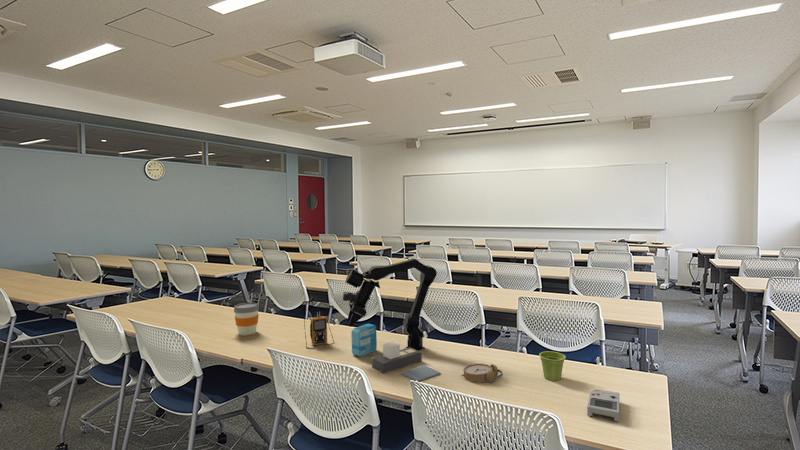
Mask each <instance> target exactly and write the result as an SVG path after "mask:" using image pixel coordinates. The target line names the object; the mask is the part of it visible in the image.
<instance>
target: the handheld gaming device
mask: <svg viewBox="0 0 800 450" xmlns="http://www.w3.org/2000/svg"><path fill="white" fill-rule="evenodd" d="M587 400H588V401H587V406H586V408H587V409H586V412H587V413H586V415H587V416H588V417H593V414H594V415H599V416H604V417H610V418H613V421H614V422H616V423H617V422H620V393H619V392H617V391H609V390H604V389H593V390H590V391H589V394H588V399H587Z"/></svg>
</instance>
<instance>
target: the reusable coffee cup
mask: <svg viewBox="0 0 800 450" xmlns="http://www.w3.org/2000/svg"><path fill="white" fill-rule="evenodd" d="M259 307H260V306H259V303H258V302H257V303H256V302H244V303H238V304H236V305H234V308H233V312H234V320H235V325H236V328H237V331H238V332H237V333H238V335H239V336H250V335H251V336H252V335H254V334H256V333H257V328H258V327H257V326H258V323H259V310H260V308H259Z"/></svg>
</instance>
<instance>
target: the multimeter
mask: <svg viewBox="0 0 800 450" xmlns="http://www.w3.org/2000/svg"><path fill="white" fill-rule="evenodd" d="M321 304H324V306H325V307H326V308H327V311H329V307H328V306H327V304H326V303H324V302H320V303H319V305H318V306H317V305H316V304H314V306H315V308H316V316H315V317H311V318H310V325H309V326H310V327H309V329H310V330H309V334H310V339H311V344H312V346H318V345H322V346H320V348H319V350H321V349H323V348H324V347H325V346H330V345H333V344H334V342H335V340H334V337H333V334H332V331H331V327H330V325H329V322H328V317H327V316H323V315H322V316H321V311H320V310H321V309H320V308H321V307H320V305H321ZM309 307H311V304H309V305H308V306H307V308H306V311H305V313H304V316H306V315H307V310H308V309H309ZM303 321H304V324H303V325H304V328H303V329H306V319H304V320H303ZM328 328H329V332H330V335H331V338H332V341H333V343H328ZM304 335H305V337H304V338H305V339H307V335H306V332H304ZM305 344H306V346H305V348H306V349H308V345H307V344H308V343H307V341H305ZM323 344H324V345H323ZM309 349H312V350H313V349H314V350H316V347H309Z"/></svg>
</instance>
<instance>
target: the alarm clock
mask: <svg viewBox="0 0 800 450" xmlns="http://www.w3.org/2000/svg"><path fill="white" fill-rule="evenodd" d="M462 371H463V374H461V377H463V378H464V379H465V380H466V381H467V382H470V383H476V384H477V383H478V384H479V383H486V382H487V383H488V384H494V382H496V379H498V378H501V377H503V376H504V375H503V370H502V369H499V368H498V367H497V366H496V365H495V364H490V365H489V364H485V363H472V364H469V365H465V366H464V367H463V370H462Z"/></svg>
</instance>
